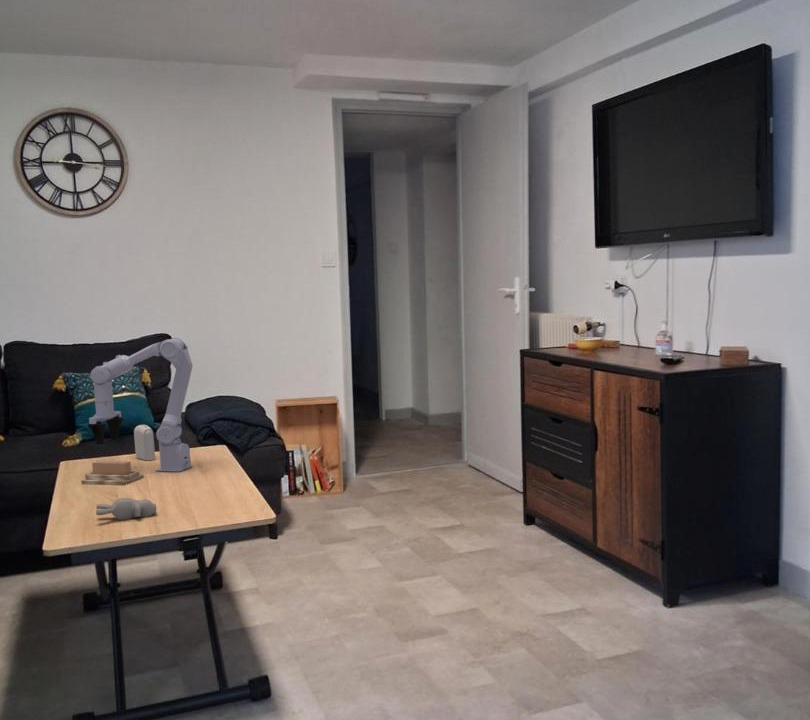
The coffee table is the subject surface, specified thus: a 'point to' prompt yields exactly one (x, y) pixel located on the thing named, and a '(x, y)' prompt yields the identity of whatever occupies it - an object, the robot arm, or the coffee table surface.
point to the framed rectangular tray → (112, 478)
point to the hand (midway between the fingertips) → (107, 441)
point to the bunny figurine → (127, 508)
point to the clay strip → (111, 468)
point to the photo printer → (144, 442)
